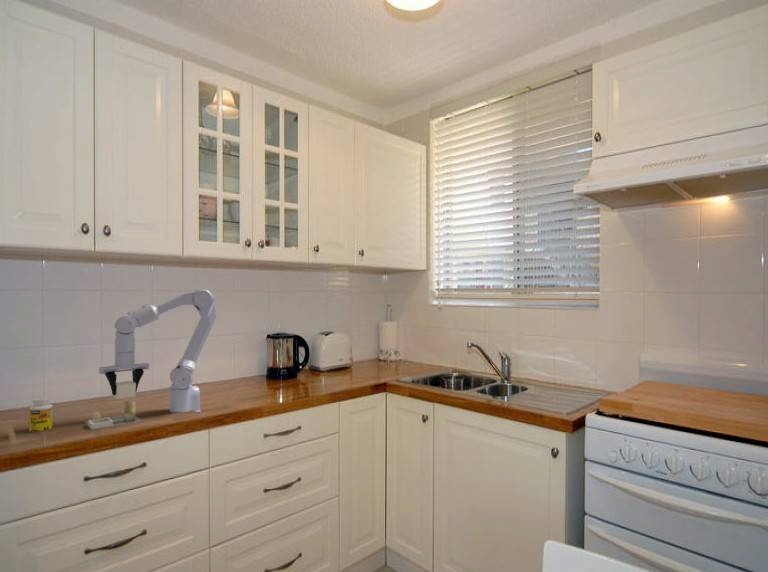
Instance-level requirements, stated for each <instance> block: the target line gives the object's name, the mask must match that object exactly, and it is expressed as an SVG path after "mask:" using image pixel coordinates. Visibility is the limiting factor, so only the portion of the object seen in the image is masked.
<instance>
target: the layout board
mask: <svg viewBox="0 0 768 572" xmlns="http://www.w3.org/2000/svg"><path fill="white" fill-rule="evenodd" d="M139 422H140V423H141V422H143V420H142V419H140V418H139V417H138V416H136V415H135V421H133V422H124V414H120V415H118V414H117V415H112V416H107V417H102V411H101V410H94V411H92V412H91V419H87V420H83V423H84V424H85V425H86V427H88V428H89V429H90V431H93V430H99V429H106V428H110V427H118V426H122V425H128V424H129V425H130V424H136V423H139Z"/></svg>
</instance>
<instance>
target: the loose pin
mask: <svg viewBox="0 0 768 572" xmlns="http://www.w3.org/2000/svg"><path fill="white" fill-rule="evenodd" d="M123 413H124V414H123V415H124V422H133V421H135V416H136V401H135V400H131V401H130V400H128V401H124V412H123Z"/></svg>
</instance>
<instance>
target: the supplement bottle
mask: <svg viewBox="0 0 768 572" xmlns="http://www.w3.org/2000/svg"><path fill="white" fill-rule="evenodd" d="M50 399H51V398H50V397H38V398H33V401H32V405H31V406H30V407H29V413H28V414H29V420H28V422H29V423H28V425H29V427H28V431H29V432H30V433H37V432H45V431H49V430H52V429H53V414H54V413H53V412H54V411H53V409H54V405H53V404H52V403H50V402H51V401H50Z"/></svg>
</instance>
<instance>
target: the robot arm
mask: <svg viewBox="0 0 768 572" xmlns="http://www.w3.org/2000/svg"><path fill="white" fill-rule="evenodd" d="M215 300H216V299H215V297H214V296H213V294H212V292H211V291H210V290H208V289H205V288H202V289H201V288H200V289H194V290H193V291H188V292H185V293H182V294H179V295H177V296H175V297H173V298H170V299H168V300H166V301H164V302H162V303H160V304H157V305H152V304H148V305H146V304H143V305H141V308H139V309H136V310H134V311H132V312H131V311H128V312H127V313H126V314H127V315H121V316H119V317H118V318H117V319H115V322H114V328H115V329H116V331H115V335H114V336H115V338H114V365H108V366H100V367H98V374H100V375H103V374H104V375H105V377H106V379H107V381H108V383H109V386H110V389H111V394H112V396H113V395H116V382H117V374H116V373H121V372H130V371H131V374H132V381H133V382H135V383H136V392H137V391H138V387H139V383H140V381H141V379H142V377H143V375H144V373H145V370H150V363H149V362H142V363H135V362H136V361H135V358H136V357H135V356H136V355H135V351H136V338H135V330H136V328H138V329H139V328H142V327H144V326H146V325H148V324H150V323H152V322H155V321H157V320H158V319H159V317H160V315H161V314H164V313H166V312H168V311H171V310H173V309H176V308H178V307H181V306H193V307H194V308H195V309H196V310H197V312H198V313H199V316H200V318H199V321H198V323H197V325H196V328H195V329H194V331H193V334H192V336H191V338H190V340H189V342H188V344H187V346H186V349H185V351H184V352H183V355H182V358H181V359H180V360H179V362H178V363H177V365H176V366H175V367H174V368H173V369H172V370H171V371H170V374H169V379H170V381H171V382H172V384H171V385H170V386H169V412H170V413H174V414H175V413H177V414H178V413H185V412H190V411H193V412H196V413H198V412H199V413H201V391H200V388H199V386H197V385H192V383H193V379H194V378H193V377H194V372H195V368H196V363H197V361H198V359H199V356H200V354H201V352H202V351H203V348H204V345H205V343H206V341H207V339H208V337H209V334H210V332H211V330H212V328H213V326H214V324H215V322H216V319H217V310H216V301H215Z"/></svg>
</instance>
